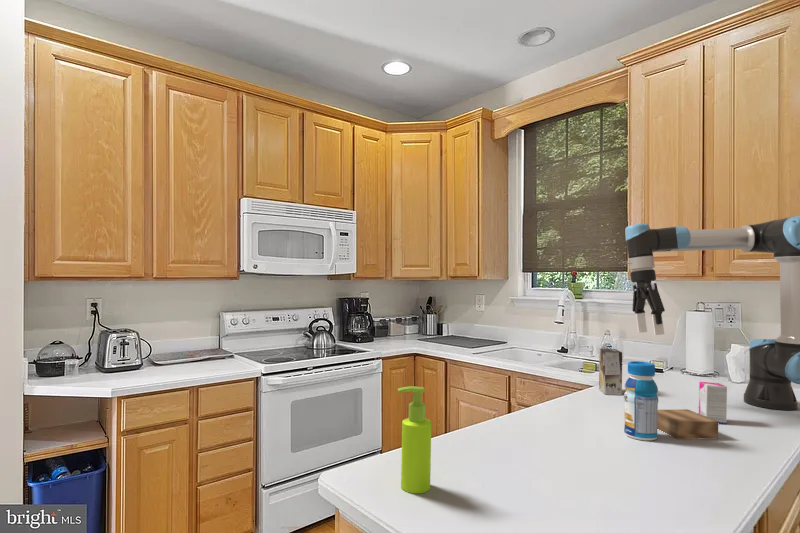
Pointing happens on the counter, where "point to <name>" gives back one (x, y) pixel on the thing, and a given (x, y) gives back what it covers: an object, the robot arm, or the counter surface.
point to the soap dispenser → (416, 445)
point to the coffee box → (610, 371)
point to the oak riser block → (686, 424)
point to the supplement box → (713, 401)
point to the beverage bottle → (641, 402)
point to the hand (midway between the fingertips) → (650, 333)
